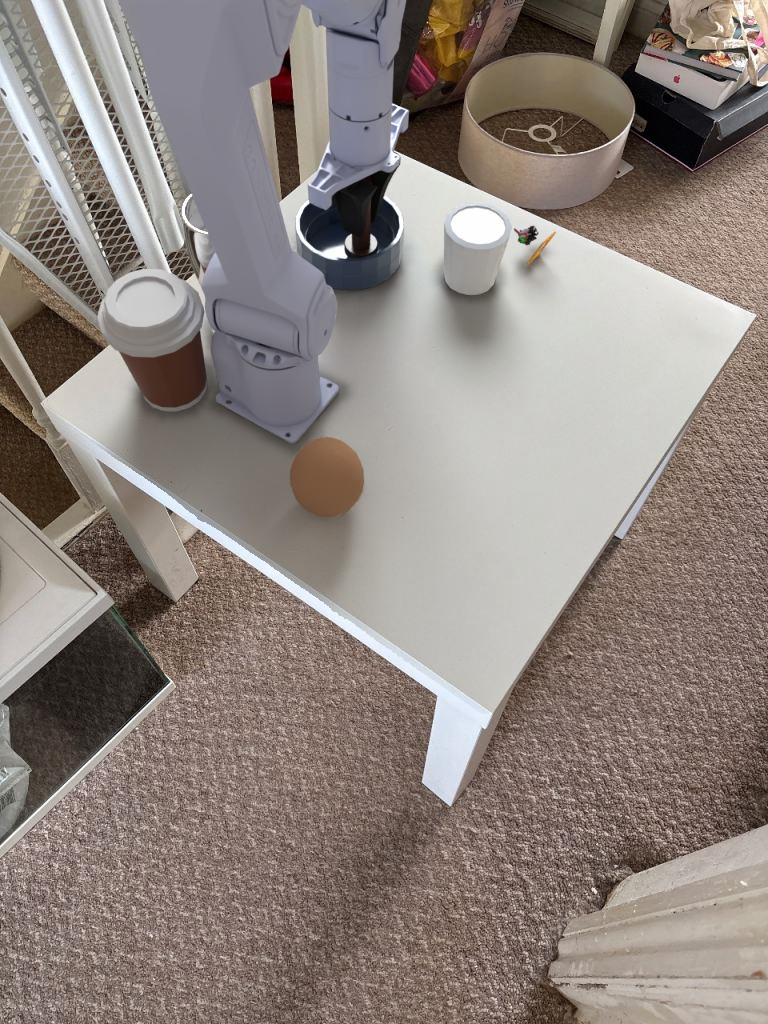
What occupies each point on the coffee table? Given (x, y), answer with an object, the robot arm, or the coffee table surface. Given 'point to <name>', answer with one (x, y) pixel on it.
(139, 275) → the coffee cup
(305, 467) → the egg
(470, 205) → the white cylinder
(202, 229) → the beer glass
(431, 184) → the coffee table surface
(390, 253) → the bowl
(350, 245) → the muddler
